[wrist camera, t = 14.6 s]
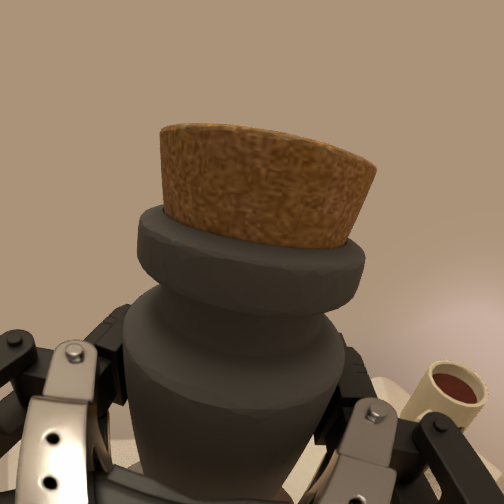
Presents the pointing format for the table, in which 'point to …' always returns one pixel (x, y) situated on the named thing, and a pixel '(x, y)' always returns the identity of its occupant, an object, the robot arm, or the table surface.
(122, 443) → the table surface
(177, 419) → the bottle
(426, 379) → the character mug
